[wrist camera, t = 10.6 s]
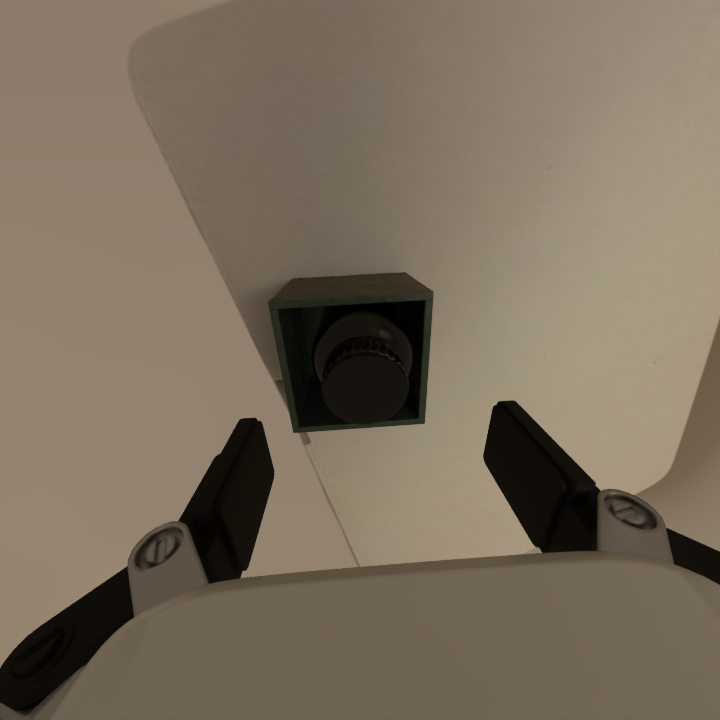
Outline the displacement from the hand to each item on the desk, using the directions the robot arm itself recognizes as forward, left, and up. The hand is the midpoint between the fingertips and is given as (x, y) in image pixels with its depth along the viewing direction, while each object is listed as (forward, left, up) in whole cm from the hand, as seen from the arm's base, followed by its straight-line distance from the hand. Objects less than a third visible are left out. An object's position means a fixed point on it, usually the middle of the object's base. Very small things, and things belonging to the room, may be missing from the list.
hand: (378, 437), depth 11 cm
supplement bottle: (0, 0, -16) cm, 16 cm away
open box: (+1, -1, -16) cm, 16 cm away
